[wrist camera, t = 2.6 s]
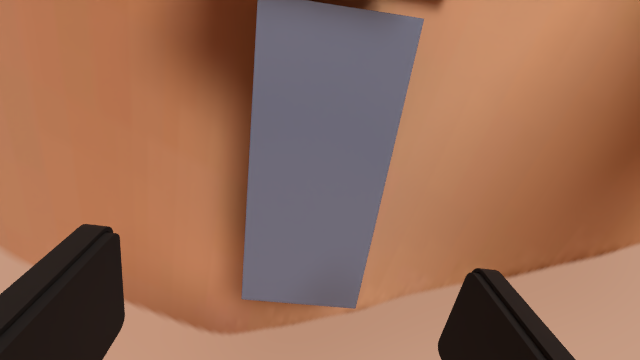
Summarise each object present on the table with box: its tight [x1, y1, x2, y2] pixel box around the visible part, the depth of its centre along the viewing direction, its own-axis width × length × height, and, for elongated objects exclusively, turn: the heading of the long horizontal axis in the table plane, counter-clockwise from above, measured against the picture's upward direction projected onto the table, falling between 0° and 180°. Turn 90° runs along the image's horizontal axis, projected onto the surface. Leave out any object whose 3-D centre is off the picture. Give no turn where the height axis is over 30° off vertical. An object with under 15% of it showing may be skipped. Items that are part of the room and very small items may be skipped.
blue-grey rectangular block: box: [242, 0, 424, 308], centre depth 17 cm, size 6×14×5 cm, turn 172°
